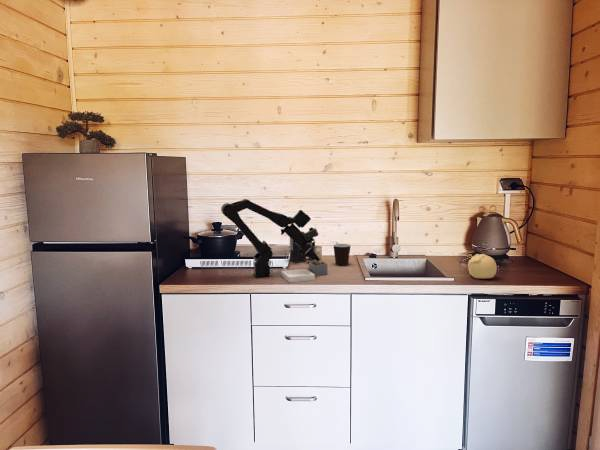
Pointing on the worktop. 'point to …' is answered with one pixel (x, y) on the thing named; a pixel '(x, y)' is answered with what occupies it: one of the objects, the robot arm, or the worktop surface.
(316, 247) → the maple pin
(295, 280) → the tray
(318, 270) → the pin cup
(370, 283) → the worktop surface
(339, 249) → the black cup
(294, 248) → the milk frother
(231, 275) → the worktop surface
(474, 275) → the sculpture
